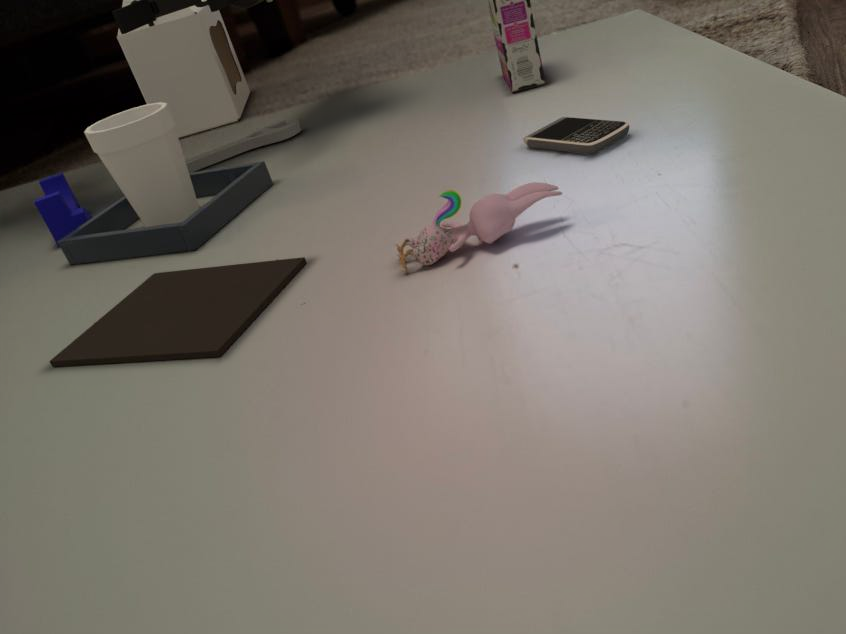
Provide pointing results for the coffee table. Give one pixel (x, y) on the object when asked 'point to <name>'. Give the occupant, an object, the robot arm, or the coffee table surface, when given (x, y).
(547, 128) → the cell phone
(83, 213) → the cable clip
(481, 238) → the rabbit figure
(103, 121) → the foam cup
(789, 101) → the coffee table surface
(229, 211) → the tray
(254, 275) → the mat
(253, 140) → the adjustable wrench
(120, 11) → the robot arm
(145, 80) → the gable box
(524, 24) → the candy bar box
